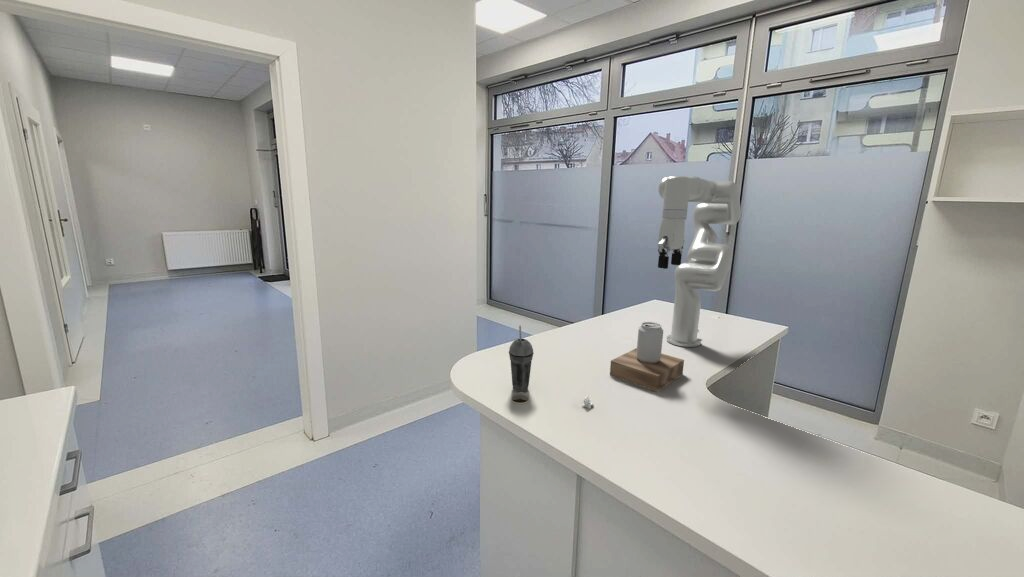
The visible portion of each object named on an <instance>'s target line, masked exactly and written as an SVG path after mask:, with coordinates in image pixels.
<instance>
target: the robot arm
mask: <svg viewBox="0 0 1024 577" xmlns="http://www.w3.org/2000/svg"><path fill="white" fill-rule="evenodd" d="M658 194H659V196H660V197H661V198H662V199H663V203H662V204H663V205H662V215H661V216H662V217H661V223H660V226H659V227H660V228H659V233H658V240H657V251H658V261H657V262H658V264H657V268H659V269H664V270H666V269H667V270H668V269H669V261H670V264H671V265H672V266H676V267H675V269H674V285H675V286H674V287H675V289H674V290H675V292H674V303H673V314H672V324H671V331H670V332H671V333H670V334H668V335H667V336H666V341H667V342H668V343H670V344H672V345H674V346H678V347H685V348H697V347H699V346H700V345H701V344H702V343H701V342H702V341H701V340H700V339H699V338H698V333H700V330H699V322H700V314H701V306H702V299H701V295H700V294H699V292H698V290H702V291H709V292H718V291H720V290H721V289H722V288H723V286H724V284H725V282H726V279H727V277H728V276H727V275H728V273H729V270H730V267H731V265H732V261H733V256H734V254H733V249H732V248H731V246H730V245H728V244H723V243H717V241H718V234H717V232H716V231H715V229H714V228H713V227H712V226H711V225H727V226H733V225H736V224H738V222H740V219H741V215H742V209H741V208H742V207H741V200H740V193H739V188H738V186H737V184H736V183H735V182H734V181H732V180H708V179H704V178H700V177H699V176H685V175H684V176H682V175H681V176H680V175H677V176H676V175H673V176H672V175H671V176H665V177H663V178H662V179H661V180H660V182H659V184H658ZM689 203H698V204H697V205H696V206H694V209H693V214H692V218H693V219H692V221H693V229H694V237H693V240H692V242H691V243H690V246H689V248H688V251H687V254H686V260H687V262H682V256H683V249H684V244H685V230H686V229H685V227H686V226H685V222H686V221H687V217H688V209H689V208H688V207H689ZM670 251H672V253H671V260H670V256H669V254H670Z"/></svg>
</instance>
